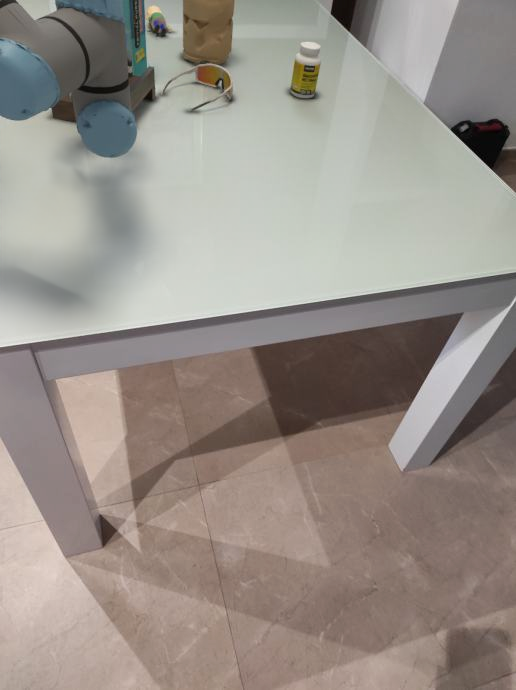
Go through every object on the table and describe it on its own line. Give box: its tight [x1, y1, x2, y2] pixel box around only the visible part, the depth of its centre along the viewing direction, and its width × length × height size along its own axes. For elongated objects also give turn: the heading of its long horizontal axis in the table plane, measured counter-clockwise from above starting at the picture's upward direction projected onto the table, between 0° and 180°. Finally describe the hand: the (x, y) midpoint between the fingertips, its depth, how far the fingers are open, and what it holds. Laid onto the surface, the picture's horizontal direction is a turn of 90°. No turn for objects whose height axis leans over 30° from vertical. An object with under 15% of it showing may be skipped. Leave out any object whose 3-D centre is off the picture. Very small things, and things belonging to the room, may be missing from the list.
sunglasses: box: [160, 62, 234, 112], centre depth 118 cm, size 14×15×5 cm
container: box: [182, 0, 236, 65], centre depth 128 cm, size 13×13×18 cm
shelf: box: [50, 65, 156, 123], centre depth 108 cm, size 16×18×6 cm
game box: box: [54, 0, 148, 76], centre depth 115 cm, size 20×6×27 cm, turn 65°
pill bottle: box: [289, 41, 322, 99], centre depth 123 cm, size 6×6×11 cm
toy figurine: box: [145, 5, 173, 38], centre depth 144 cm, size 8×4×12 cm
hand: (77, 31), depth 90 cm, fingers closed on supplement bottle, 7 cm apart
